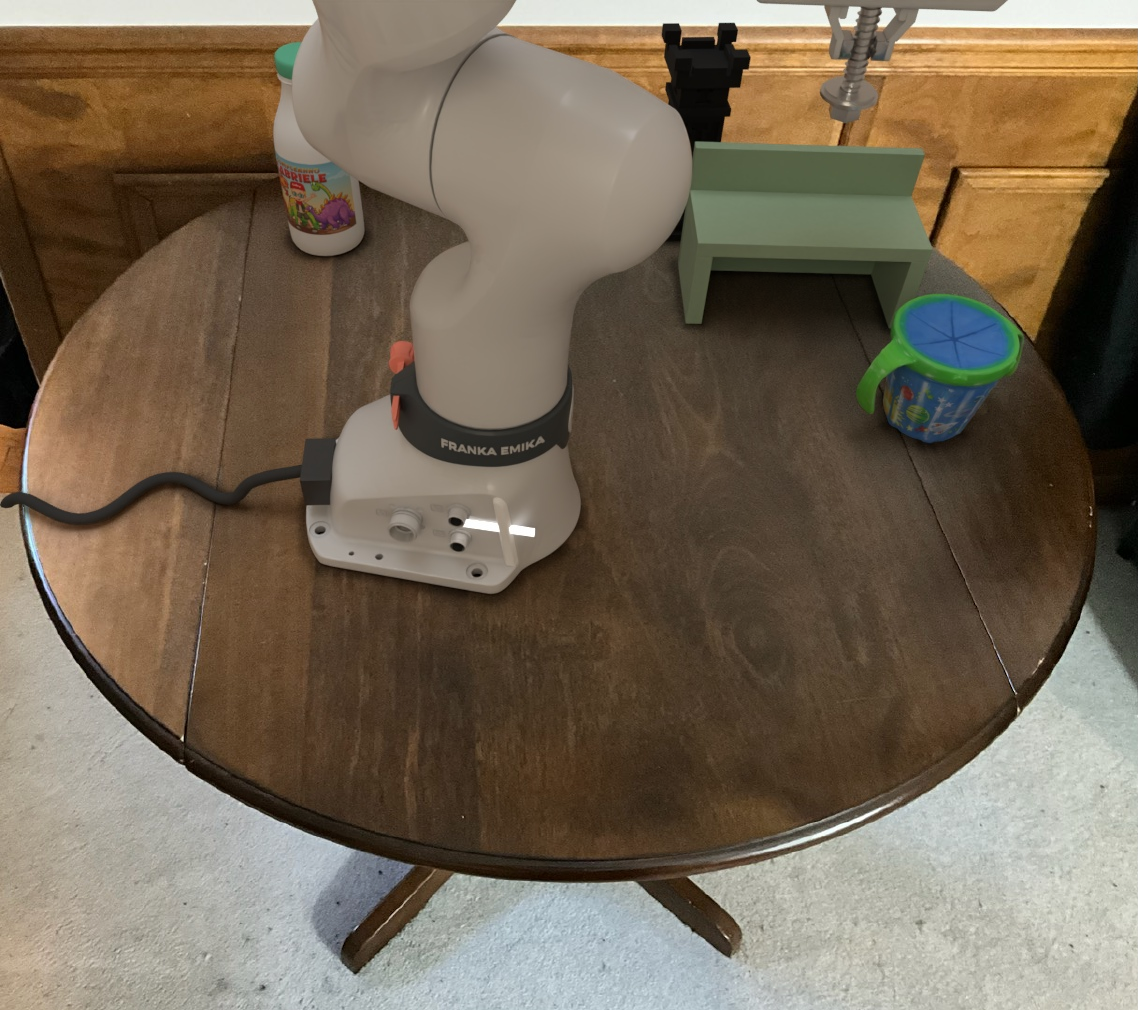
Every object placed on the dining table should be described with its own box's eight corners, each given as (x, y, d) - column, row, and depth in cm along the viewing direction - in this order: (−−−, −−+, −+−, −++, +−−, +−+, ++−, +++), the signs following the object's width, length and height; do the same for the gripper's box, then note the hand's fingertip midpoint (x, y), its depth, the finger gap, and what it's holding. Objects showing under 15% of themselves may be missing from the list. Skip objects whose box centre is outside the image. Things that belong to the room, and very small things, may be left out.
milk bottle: (304, 212, 113) (271, 28, 98) (373, 220, 113) (351, 36, 98) (281, 253, 108) (243, 67, 93) (354, 262, 108) (327, 76, 93)
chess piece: (639, 199, 117) (658, 21, 102) (709, 197, 118) (737, 20, 103) (651, 241, 112) (672, 60, 97) (723, 239, 113) (755, 59, 98)
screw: (803, 107, 90) (849, 96, 91) (837, 134, 87) (883, 123, 88) (839, -52, 80) (890, -61, 81) (878, -27, 77) (929, -37, 79)
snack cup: (870, 472, 91) (902, 386, 83) (820, 391, 97) (846, 304, 90) (1026, 443, 94) (1072, 358, 86) (968, 367, 101) (1006, 281, 93)
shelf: (685, 323, 103) (704, 200, 93) (677, 262, 110) (694, 141, 99) (904, 329, 104) (948, 207, 93) (883, 268, 111) (922, 148, 100)
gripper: (768, -121, 72) (737, 71, 83) (1058, -110, 73) (990, 80, 83) (757, -152, 76) (728, 35, 87) (1031, -141, 77) (969, 43, 88)
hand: (858, 57), depth 85 cm, fingers closed on screw, 2 cm apart
